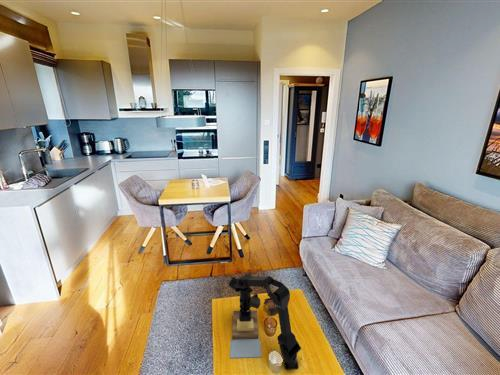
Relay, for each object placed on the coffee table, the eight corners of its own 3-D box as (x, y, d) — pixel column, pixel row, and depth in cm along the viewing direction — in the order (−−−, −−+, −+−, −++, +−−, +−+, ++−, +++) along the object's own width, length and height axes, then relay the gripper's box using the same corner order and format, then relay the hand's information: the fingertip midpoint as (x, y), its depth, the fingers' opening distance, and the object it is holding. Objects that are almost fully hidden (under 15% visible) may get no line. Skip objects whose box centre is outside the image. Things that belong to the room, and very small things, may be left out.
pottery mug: (262, 315, 148) (261, 300, 149) (267, 310, 156) (266, 297, 158) (281, 316, 143) (279, 301, 145) (285, 311, 151) (284, 297, 153)
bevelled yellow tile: (253, 330, 132) (253, 327, 132) (237, 331, 132) (236, 328, 132) (253, 321, 138) (253, 318, 137) (237, 321, 138) (237, 319, 137)
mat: (261, 357, 122) (261, 356, 122) (229, 358, 122) (229, 357, 122) (260, 339, 132) (260, 338, 132) (230, 340, 131) (230, 339, 131)
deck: (258, 339, 132) (258, 333, 130) (232, 340, 131) (232, 334, 130) (256, 315, 147) (256, 310, 146) (233, 316, 147) (233, 310, 145)
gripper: (260, 308, 126) (260, 331, 131) (258, 283, 144) (258, 304, 148) (238, 309, 126) (239, 332, 130) (239, 284, 143) (240, 305, 148)
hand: (245, 317), depth 139 cm, fingers closed
